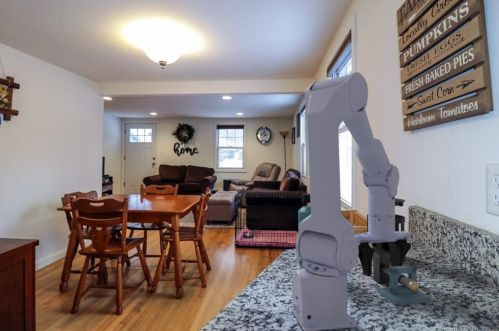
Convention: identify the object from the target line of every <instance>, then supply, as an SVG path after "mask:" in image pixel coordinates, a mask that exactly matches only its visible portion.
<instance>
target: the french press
mask: <svg viewBox="0 0 499 331" xmlns="http://www.w3.org/2000/svg"><path fill="white" fill-rule="evenodd" d="M405 202H406V200H405V199H402V198H396V197H395V207H404V203H405ZM405 223H406V216H404V215H402V214H401V215H400V214H396V213H395V231H406V230H405V225H406V224H405ZM366 232H368V213H367V214H366ZM370 245H371V248H374V249H375V251H385V252H387V253H389V254H390V249H389V245H388V242H382V243H370ZM406 260H407V255H406V256H405V258H404V261H403V262H405V261H406ZM390 263H391V256H390Z"/></svg>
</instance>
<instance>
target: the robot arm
mask: <svg viewBox="0 0 499 331" xmlns="http://www.w3.org/2000/svg"><path fill="white" fill-rule="evenodd" d="M368 99H369V87H368V83H367V80H366V78H365V77H364V75H363V74H361V73H360V72H358V71H357V72H352V73H351V74H347V75H346V74H345V75H342V76H339V77H338V76H337V77H334V78H329V79H325V80H320V81H313V82H312V83H311V84H310V85H309V86H307V88H306V89H305V91H304V100H305V121H306V122H307V123H306V124H307V143H308V144H307V146H308V147H307V148H308V174H309V194H310V202H311V203H310V206H311V215H309V216H308V217H307V218H305V219H304V220H303V221H302V222H301V223H300V224H299V223H298V224H297V225H298V227H297V228H298V230H297V231H298V232H297V238H296V240H295V251H296V254H297V257H299V258H298V260H299V259H300V260H302V266H303V267H305V268H301V269H296V270H294V271H293V273H292V277H291V278H292V280H291V281H292V282H291V283H292V284H291V288H292V289H291V292H292V293H291V294H292V295H291V296H292V297H291V298H292V299H291V300H292V302H291V304H292V306H290V307H291V309H290V310H291V312H292V313H293V315H294V316H295V318H296V320H297V322H298V324H299V326H300V327H301V328H302V331H327V330H336V329H337V330H340V329H350V328H357V327H358V322H356V321H355V320H354V318H353V317H352V316H351V315H350V314H349V312H348V273H350V272H352V270H354V268H355V266H356V265H357V263H358V259H359V261H360V266H361V269H362V273H363V275H365V276H367V277H371V276H372V275H373V254H374V251H375V249H374V248H372V246H371V243H382V242H388V245H389V249H390V256H391V262H390V267H394V266H403V263H404V262H405V261H404V258H405V256H406V257H407V254H408V253H409V251H410V250H411V248H412V243H411V242H412V233H411V232H409V231H406V230H405V231H401V230H399V231H395V214H396V206H395V198H396V196H397V195H398V187H399V183H400V173H399V168H398V166H396V165H394V164H393V163H391V162H390V159H389V157H388V155H387V152H386V149H385V147H384V145H383V143H382V141H381V140H380V139H378V138H376V137H374V134H373V130H372V128H371V125H370V124H371V123H370V122H369V118H368V115H367V111H366V108H367V106H368ZM342 123H343V124H344V126H346V128H347V130H348V131H349V133H350V135H351V137H352V138H353V140H354V141H355V143H356V147H355V149H354V153H355V155H356V157H357V159H358V162H359V163H360V165H361V167H362V168H361V173H362V181H363V185H364V186H365V187H366V188H367V214H368V232H367V231H366V232H362V233H357V234H356V233H355V227H354V225H353V224H351V222H349V221H348V219H346V217H344V216H343V214H342V199H341V198H342V197H341V196H342V194H341V169H340V167H341V166H340V164H341V163H340V141H339V140H340V138H339V137H340V135H339V134H340V133H339V127H340V125H341V124H342Z"/></svg>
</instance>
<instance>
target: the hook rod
mask: <svg viewBox="0 0 499 331" xmlns="http://www.w3.org/2000/svg"><path fill="white" fill-rule="evenodd" d="M390 267H391V262H390V254H389V253H387V252H385V251H374V254H373V259H372V275H373V276H372V277H373V278H372V279H373V280H374V281H376V282H377V283H378V284H388V283H389V284H390ZM399 284H400V286H404V287H406V288H407V289H409V290H410V291H412V292H416V291H418V290H419V288H420V286H419V283H418V281H417V282H415V281H413V280H412V279H410V278H408V276H406V275H405V274H398V285H399Z"/></svg>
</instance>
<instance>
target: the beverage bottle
mask: <svg viewBox="0 0 499 331" xmlns="http://www.w3.org/2000/svg"><path fill="white" fill-rule="evenodd" d="M301 196H302V197H301V203H305V204H311V202H310V193H303V194H302V195H301ZM297 213H298V215H297V216H298V218H297V219H298V225H299V224H300V223H301V222H302V221H303V220H304V219H305V218H307V217H308V216H309V215H311V205H306V206H304V205H303V206H302V207H301V208H300V209H298V211H297ZM297 257H298V256H297ZM298 265H299V267H300V268H301V269H303V268H305V267H303V266H302V260H300V259H299V257H298Z"/></svg>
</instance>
